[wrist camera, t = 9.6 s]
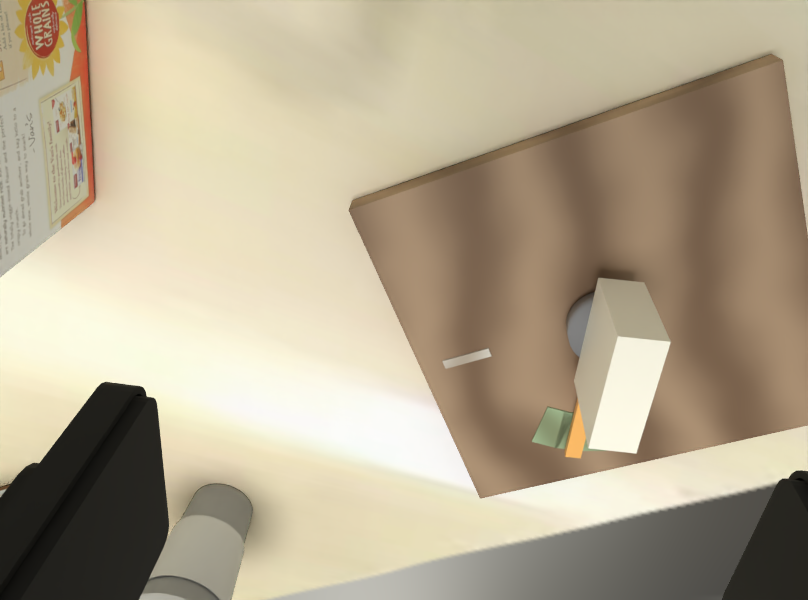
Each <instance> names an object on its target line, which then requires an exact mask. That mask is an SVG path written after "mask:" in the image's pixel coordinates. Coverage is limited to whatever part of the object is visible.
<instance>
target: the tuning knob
mask: <svg viewBox="0 0 808 600" xmlns="http://www.w3.org/2000/svg"><path fill="white" fill-rule="evenodd" d="M566 330H567V334H568V339H569V343H570V346H571V348H572V350H573V351H574V353H575V354H576V355H577V356H578V357H579V362H578V366H577V370H576V374H575V379H574V383H575V388H576V393H577V397H578V398H577V402H576V406H575V410H574V414H573V418H572V422H571V426H570V430H569V435H568V439H567V443H566V447H565V451H564V452H565V457H571V458H580V459H581V455H582V451H583V448H584V444H585V440H587V445H588V448H590V449H599V450H608V451H617V452H626V453H635V454H636V453H637V450H638V446H639V443H640V440H641V437H642V433H643V430H644V427H645V424H646V421H647V417H648V414H649V411H650V408H651V404H652V401H653V398H654V395H655V391H656V388H657V385H658V382H659V379H660V375H661V372H662V369H663V366H664V362H665V359H666V356H667V353H668V350H669V346H670V343H671V341H670V339H669V337H668V334H667V332H666V330H665V328H664V325H663V323H662V321H661V319H660V316H659V314H658V312H657V310H656V308H655V305H654V303H653V301H652V299H651V296H650V294H649V292H648V290H647V287H646V285H645V283H644V282H636V281H626V280H616V279H606V278H598V281H597V286H596V290H595V292H593V293H590V294H588V295H586V296H584V297H582V298H581V299H580V300H578V301H577V302H576V303H575V304H574V305H573V307H572V308H571V310H570V311H569V313H568V316H567V320H566Z"/></svg>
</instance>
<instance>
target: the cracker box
mask: <svg viewBox="0 0 808 600" xmlns="http://www.w3.org/2000/svg"><path fill="white" fill-rule="evenodd" d="M92 203H94V179H93V158H92V139H91V118H90V101H89V84H88V59H87V40H86V24H85V3H84V0H0V277H1V276H2V275H4V274H5V273H6V272H7V271H9V270H10V269H11V268H12V267H14V266H15V265H16V264H17V263H19V262H20V261H21V260H22V259H24V258H25V257H26V256H27V255H29V254H30V253H31V252H32V251H34V250H35V249H36V248H37V247H39V246H40V245H41V244H42V243H44V242H45V241H46V240H47V239H49V238H50V237H51V236H52V235H54V234H55V233H56V232H57V231H59V230H60V229H61V228H62V227H64V226H65V225H66V224H68V223H69V222H70V221H71V220H73V219H74V218H75V217H76V216H77V215H79V214H80V213H81V212H83V211H84V210H85V209H86V208H87V207H89V206H90V205H91V204H92Z"/></svg>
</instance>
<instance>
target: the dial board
mask: <svg viewBox="0 0 808 600" xmlns="http://www.w3.org/2000/svg"><path fill="white" fill-rule="evenodd" d="M349 212H350V214H351V216H352V219H353V221H354V223H355V225H356V227H357V230H358V232H359V234H360V236H361V238H362V240H363V243H364V245H365V247H366V249H367V251H368V254H369V256H370V258H371V260H372V262H373V265H374V267H375V269H376V271H377V273H378V276H379V278H380V280H381V282H382V284H383V287H384V289H385V291H386V293H387V295H388V297H389V300H390V302H391V304H392V306H393V308H394V311H395V313H396V315H397V317H398V319H399V322H400V324H401V326H402V328H403V330H404V333H405V335H406V337H407V339H408V341H409V343H410V346H411V348H412V350H413V352H414V354H415V357H416V359H417V361H418V363H419V365H420V368H421V370H422V372H423V374H424V376H425V379H426V381H427V383H428V385H429V387H430V389H431V392H432V394H433V396H434V398H435V400H436V403H437V405H438V407H439V409H440V411H441V414H442V416H443V418H444V420H445V422H446V425H447V427H448V429H449V431H450V433H451V436H452V438H453V440H454V442H455V444H456V446H457V449H458V451H459V453H460V455H461V457H462V460H463V462H464V464H465V466H466V468H467V471H468V473H469V475H470V477H471V479H472V482H473V484H474V486H475V488H476V490H477V492H478V495H479V497H480V498H485V497H489V496H493V495H498V494H502V493H507V492H511V491H516V490H520V489H525V488H529V487H534V486H538V485H543V484H547V483H552V482H556V481H561V480H565V479H570V478H574V477H578V476H583V475H587V474H592V473H596V472H601V471H605V470H610V469H614V468H619V467H623V466H628V465H632V464H637V463H641V462H646V461H650V460H655V459H659V458H663V457H668V456H672V455H677V454H681V453H686V452H690V451H695V450H699V449H704V448H708V447H713V446H717V445H722V444H726V443H731V442H735V441H739V440H744V439H748V438H753V437H757V436H762V435H766V434H771V433H775V432H780V431H784V430H789V429H793V428H798V427H802V426H807V425H808V235H807V227H806V220H805V213H804V206H803V199H802V192H801V185H800V178H799V171H798V163H797V156H796V149H795V142H794V135H793V128H792V121H791V114H790V107H789V99H788V92H787V85H786V78H785V71H784V64H783V60H782V59H780V58H778V57H776V56H774V55H772V54H770V55H768V56H765V57H762V58H759V59H756V60H753V61H750V62H748V63H745V64H742V65H739V66H736V67H733V68H730V69H728V70H725V71H722V72H719V73H716V74H713V75H710V76H707V77H705V78H702V79H699V80H696V81H693V82H690V83H687V84H685V85H682V86H679V87H676V88H673V89H670V90H667V91H665V92H662V93H659V94H656V95H653V96H650V97H647V98H644V99H642V100H639V101H636V102H633V103H630V104H627V105H624V106H622V107H619V108H616V109H613V110H610V111H607V112H604V113H602V114H599V115H596V116H593V117H590V118H587V119H584V120H582V121H579V122H576V123H573V124H570V125H567V126H564V127H561V128H559V129H556V130H553V131H550V132H547V133H544V134H541V135H539V136H536V137H533V138H530V139H527V140H524V141H521V142H519V143H516V144H513V145H510V146H507V147H504V148H501V149H498V150H496V151H493V152H490V153H487V154H484V155H481V156H478V157H476V158H473V159H470V160H467V161H464V162H461V163H458V164H456V165H453V166H450V167H447V168H444V169H441V170H438V171H436V172H433V173H430V174H427V175H424V176H421V177H418V178H415V179H413V180H410V181H407V182H404V183H401V184H398V185H395V186H393V187H390V188H387V189H384V190H381V191H378V192H375V193H373V194H370V195H367V196H364V197H361V198H358V199H355V200H353V201H352V203H351V206H350V208H349ZM598 278H606V279H616V280H626V281H636V282H644V283H645V285H646V287H647V290H648V292H649V294H650V296H651V299H652V301H653V303H654V305H655V308H656V310H657V312H658V314H659V316H660V319H661V321H662V323H663V325H664V328H665V330H666V332H667V334H668V337H669V339H670V341H671V343H670V346H669V350H668V353H667V356H666V359H665V362H664V366H663V369H662V372H661V375H660V379H659V382H658V385H657V388H656V391H655V395H654V398H653V401H652V404H651V408H650V411H649V414H648V417H647V421H646V424H645V427H644V430H643V433H642V437H641V440H640V443H639V446H638V450H637V453H636V454H635V453H626V452H617V451H608V450H599V449H590V448H588V445H587V440H585V444H584V448H583V451H582V455H581V459H580V458H571V457H565V452H564V451H565V447H566V443H567V439H568V435H569V430H570V426H571V422H572V418H573V414H574V410H575V406H576V402H577V398H578V397H577V393H576V388H575V383H574V379H575V374H576V370H577V366H578V362H579V357H578V356H577V355H576V354H575V353H574V351H573V350H572V348H571V346H570V343H569V339H568V334H567V330H566V320H567V316H568V313H569V311H570V310H571V308H572V307H573V305H574V304H575V303H576V302H577V301H578V300H580V299H581V298H582V297H584V296H586V295H588V294H590V293H593V292H595V290H596V286H597V281H598Z"/></svg>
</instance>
